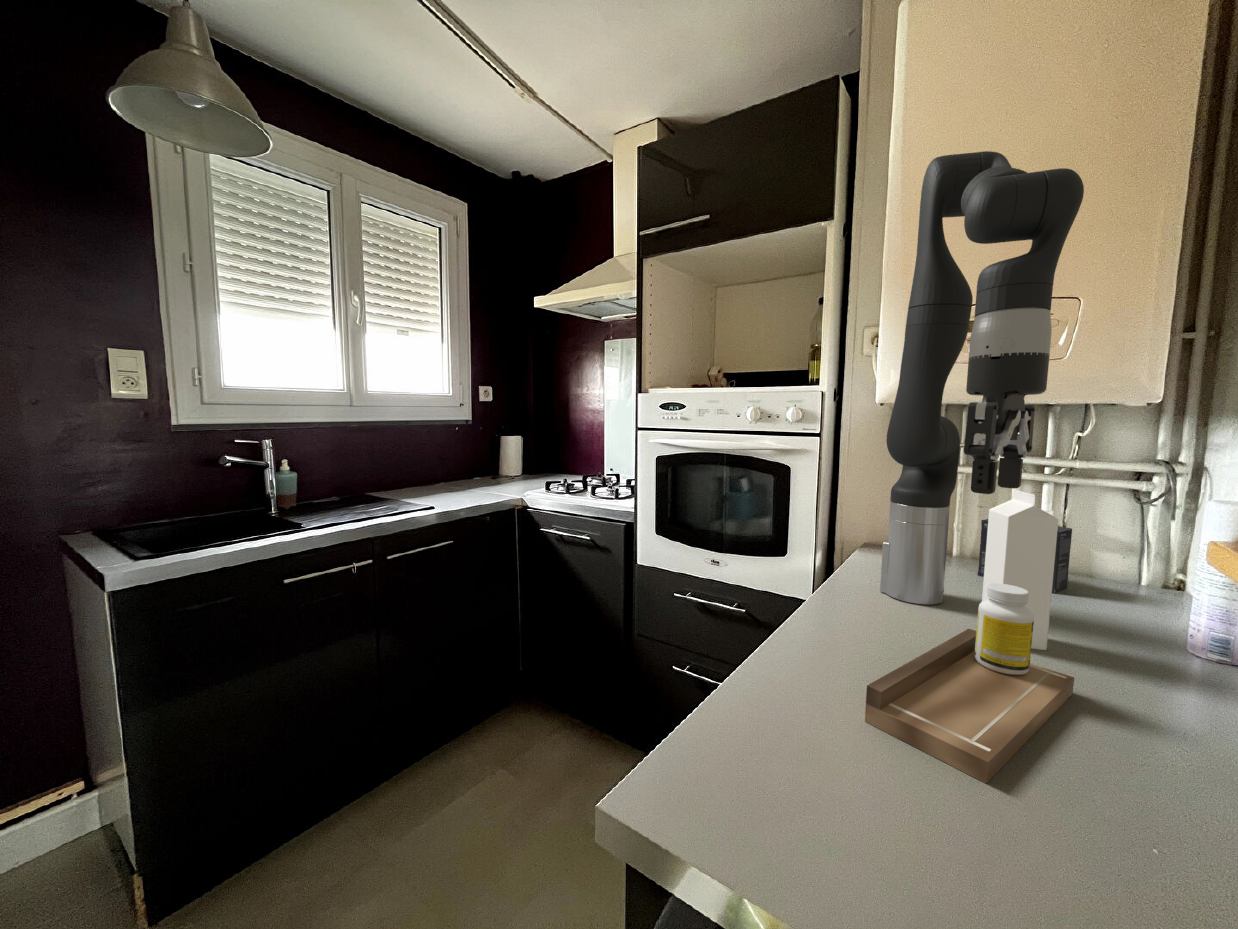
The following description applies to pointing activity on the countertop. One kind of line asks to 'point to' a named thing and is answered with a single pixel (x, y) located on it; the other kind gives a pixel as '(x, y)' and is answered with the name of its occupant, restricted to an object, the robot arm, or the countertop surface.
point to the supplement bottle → (1004, 630)
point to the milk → (1023, 556)
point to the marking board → (964, 706)
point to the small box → (1060, 555)
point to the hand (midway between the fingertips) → (996, 490)
